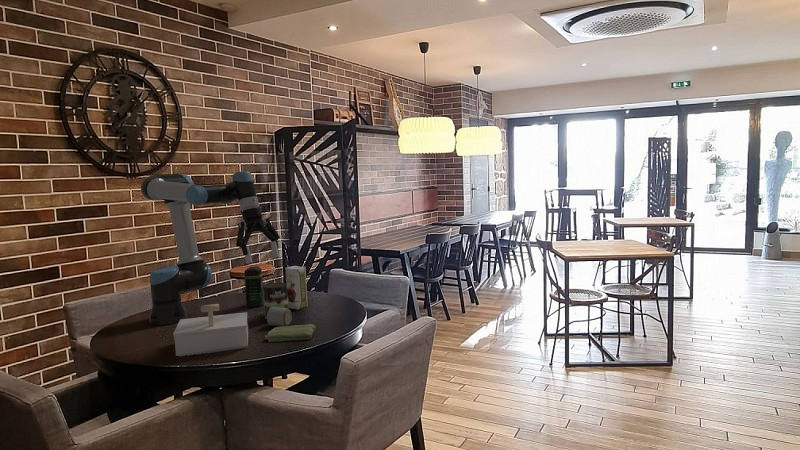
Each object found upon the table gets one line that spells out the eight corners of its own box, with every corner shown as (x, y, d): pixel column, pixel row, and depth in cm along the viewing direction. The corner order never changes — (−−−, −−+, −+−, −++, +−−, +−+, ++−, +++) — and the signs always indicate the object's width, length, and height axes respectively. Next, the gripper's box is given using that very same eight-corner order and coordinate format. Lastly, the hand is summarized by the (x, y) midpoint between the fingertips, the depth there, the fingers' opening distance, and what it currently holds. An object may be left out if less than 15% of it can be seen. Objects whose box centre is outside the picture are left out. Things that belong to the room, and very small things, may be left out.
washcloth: (272, 332, 204) (271, 324, 204) (316, 330, 205) (316, 322, 204) (264, 343, 191) (263, 335, 191) (311, 341, 192) (311, 333, 191)
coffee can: (291, 317, 224) (289, 285, 222) (268, 321, 219) (265, 288, 217) (285, 312, 233) (283, 281, 231) (262, 315, 228) (260, 284, 226)
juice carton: (297, 304, 245) (295, 265, 243) (310, 306, 240) (307, 266, 238) (285, 308, 239) (282, 267, 237) (298, 310, 234) (295, 269, 232)
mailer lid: (180, 321, 196) (178, 299, 195) (247, 314, 203) (245, 292, 202) (173, 335, 178) (171, 311, 178) (246, 327, 185) (244, 303, 184)
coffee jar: (262, 307, 243) (259, 268, 241) (245, 308, 242) (242, 269, 240) (265, 302, 253) (262, 264, 251) (248, 303, 252) (245, 265, 250)
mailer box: (182, 341, 197) (181, 322, 196) (248, 333, 203) (246, 314, 203) (176, 356, 180) (174, 336, 179) (247, 347, 186) (246, 327, 185)
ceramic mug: (285, 328, 208) (284, 309, 207) (266, 327, 210) (265, 309, 209) (296, 321, 218) (295, 303, 217) (278, 320, 220) (277, 303, 219)
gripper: (229, 209, 196) (243, 263, 195) (280, 204, 216) (292, 252, 215) (218, 214, 201) (232, 267, 200) (269, 208, 221) (281, 256, 220)
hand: (263, 259), depth 207 cm, fingers open, 13 cm apart
